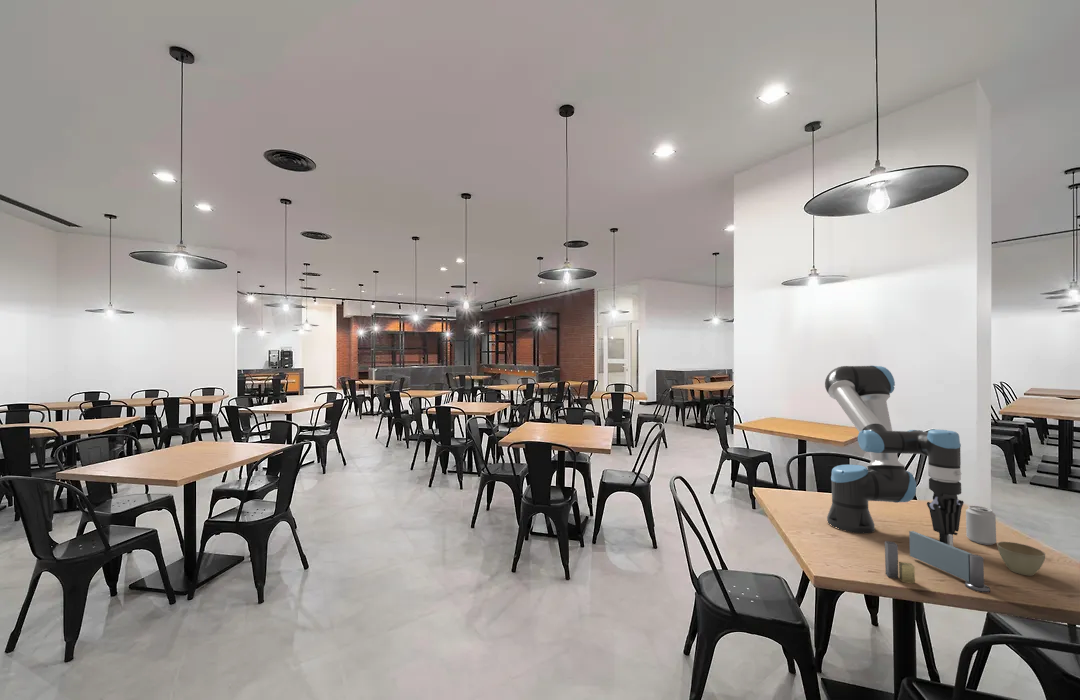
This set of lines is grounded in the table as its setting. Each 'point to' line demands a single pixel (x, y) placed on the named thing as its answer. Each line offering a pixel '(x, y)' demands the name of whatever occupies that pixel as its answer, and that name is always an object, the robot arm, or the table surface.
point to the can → (981, 525)
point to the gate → (947, 558)
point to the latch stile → (892, 564)
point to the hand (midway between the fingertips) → (946, 554)
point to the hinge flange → (980, 589)
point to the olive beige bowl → (1021, 557)
